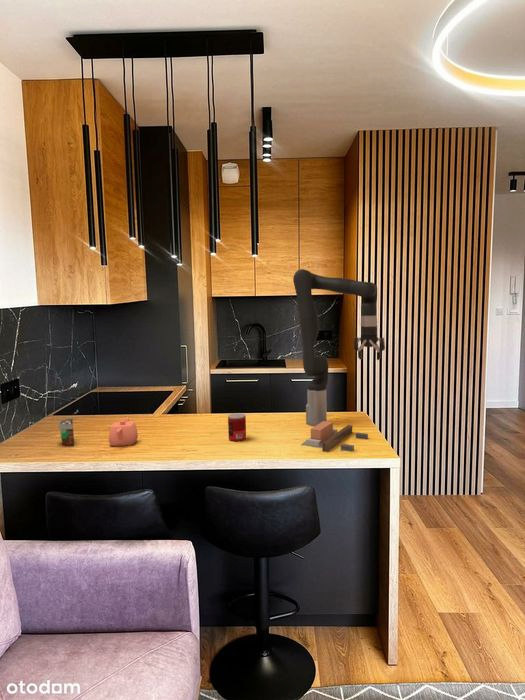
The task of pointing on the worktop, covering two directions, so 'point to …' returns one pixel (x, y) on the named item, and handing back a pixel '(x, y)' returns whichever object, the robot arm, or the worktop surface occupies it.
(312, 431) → the bar
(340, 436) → the door edge
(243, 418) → the canned food
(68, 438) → the food container
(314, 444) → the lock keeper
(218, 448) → the worktop surface
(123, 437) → the teapot
